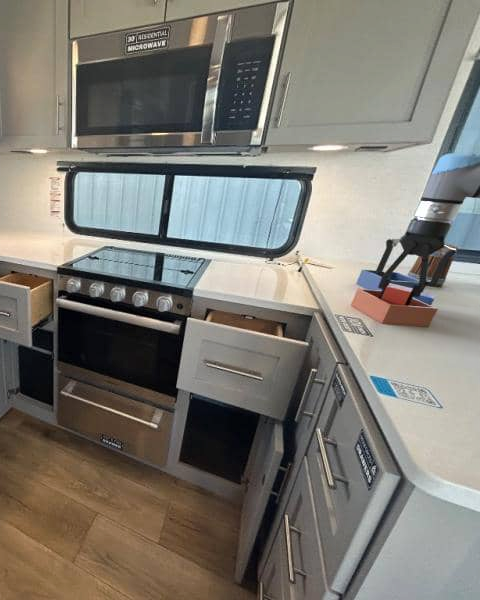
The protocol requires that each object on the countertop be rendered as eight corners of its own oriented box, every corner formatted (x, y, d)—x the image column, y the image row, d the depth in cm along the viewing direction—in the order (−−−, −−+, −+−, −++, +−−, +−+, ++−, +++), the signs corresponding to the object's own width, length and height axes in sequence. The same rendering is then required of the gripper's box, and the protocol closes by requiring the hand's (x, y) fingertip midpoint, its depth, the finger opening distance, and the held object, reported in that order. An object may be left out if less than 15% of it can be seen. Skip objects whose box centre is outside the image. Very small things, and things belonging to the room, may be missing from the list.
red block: (405, 304, 93) (413, 288, 91) (402, 309, 90) (411, 292, 88) (382, 299, 96) (389, 283, 94) (379, 302, 93) (386, 286, 91)
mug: (443, 289, 121) (464, 249, 115) (405, 281, 127) (423, 243, 121) (440, 280, 132) (459, 243, 126) (405, 273, 138) (421, 238, 132)
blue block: (427, 310, 100) (435, 295, 98) (426, 314, 97) (434, 298, 95) (405, 304, 103) (413, 290, 102) (403, 308, 100) (411, 293, 98)
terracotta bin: (428, 327, 88) (438, 308, 86) (381, 323, 89) (390, 305, 87) (391, 308, 100) (399, 291, 98) (350, 305, 100) (357, 288, 98)
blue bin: (419, 298, 109) (427, 283, 107) (382, 296, 110) (388, 280, 108) (390, 286, 121) (396, 271, 119) (356, 283, 121) (361, 269, 119)
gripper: (384, 215, 87) (350, 295, 97) (485, 227, 75) (435, 318, 84) (388, 213, 92) (356, 290, 101) (484, 224, 80) (437, 311, 89)
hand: (392, 303), depth 93 cm, fingers closed on red block, 5 cm apart
